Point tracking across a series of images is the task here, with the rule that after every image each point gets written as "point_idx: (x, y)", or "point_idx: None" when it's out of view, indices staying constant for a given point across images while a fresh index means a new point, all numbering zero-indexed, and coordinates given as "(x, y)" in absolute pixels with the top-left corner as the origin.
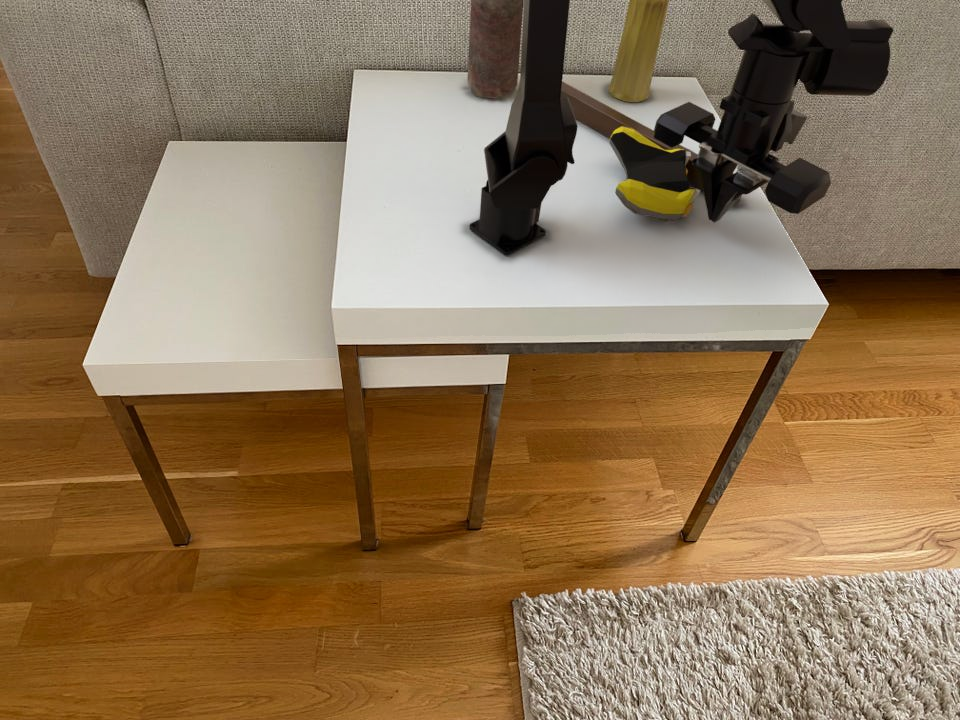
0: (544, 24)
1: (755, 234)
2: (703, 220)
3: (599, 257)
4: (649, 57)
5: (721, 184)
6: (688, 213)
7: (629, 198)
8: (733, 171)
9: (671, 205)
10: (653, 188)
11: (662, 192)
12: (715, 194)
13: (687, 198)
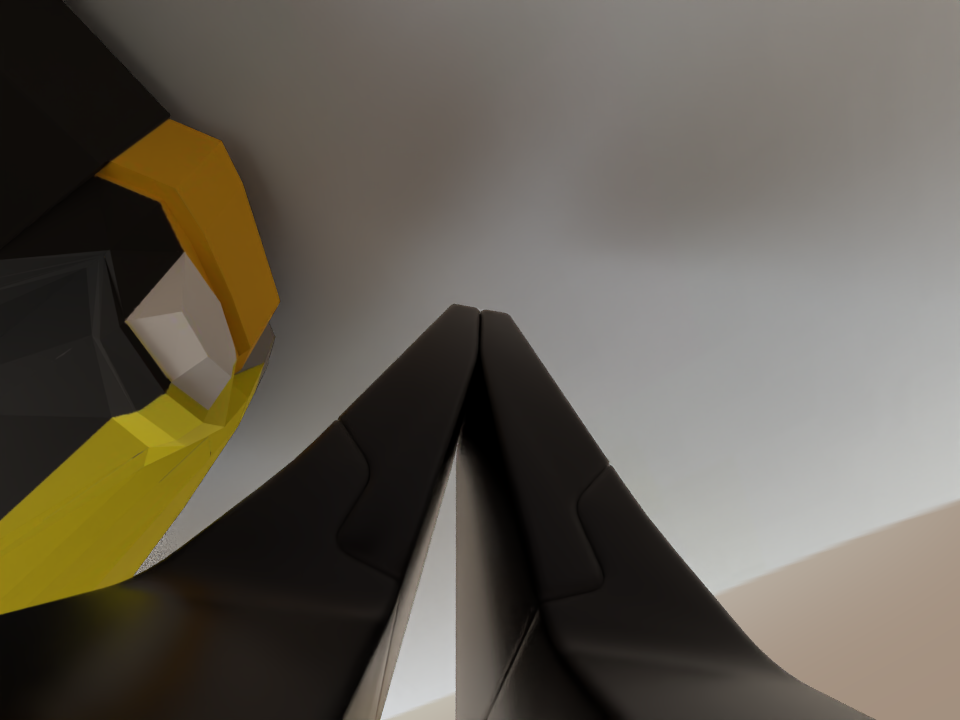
0: None
1: (803, 25)
2: (371, 147)
3: None
4: None
5: (390, 664)
6: (273, 284)
7: None
8: (380, 649)
9: (187, 484)
10: (7, 602)
11: (53, 515)
12: (407, 620)
13: (205, 433)
